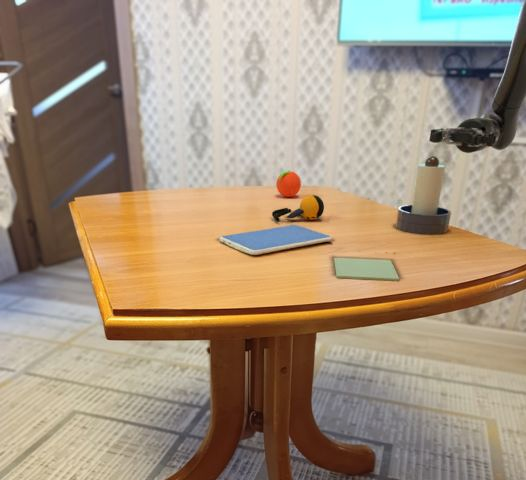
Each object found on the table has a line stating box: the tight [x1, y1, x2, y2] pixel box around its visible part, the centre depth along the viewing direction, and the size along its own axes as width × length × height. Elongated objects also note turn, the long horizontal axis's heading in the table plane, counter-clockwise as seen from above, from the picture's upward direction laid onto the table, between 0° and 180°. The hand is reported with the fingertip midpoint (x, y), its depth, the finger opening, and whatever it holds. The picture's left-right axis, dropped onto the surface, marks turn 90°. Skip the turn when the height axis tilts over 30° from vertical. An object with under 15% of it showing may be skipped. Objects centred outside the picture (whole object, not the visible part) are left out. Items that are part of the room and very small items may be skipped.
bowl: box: [395, 204, 452, 235], centre depth 111 cm, size 11×11×4 cm
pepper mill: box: [411, 155, 446, 215], centre depth 108 cm, size 5×5×15 cm
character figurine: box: [271, 194, 325, 222], centre depth 119 cm, size 10×6×12 cm
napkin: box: [333, 257, 400, 282], centre depth 86 cm, size 10×10×1 cm
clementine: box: [275, 170, 302, 198], centre depth 142 cm, size 8×7×7 cm
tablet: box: [219, 224, 333, 256], centre depth 100 cm, size 19×13×1 cm, turn 125°
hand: (453, 139), depth 111 cm, fingers open, 8 cm apart
